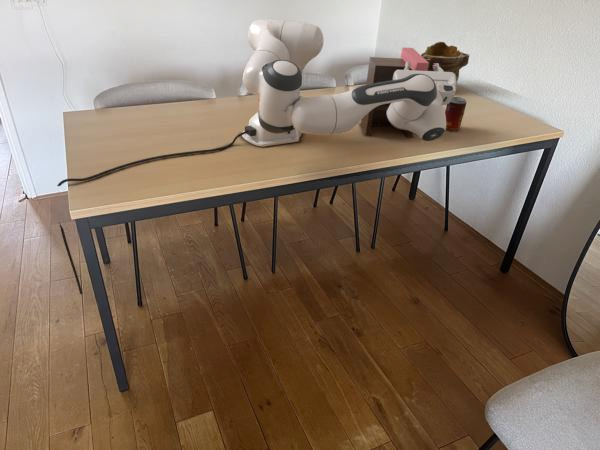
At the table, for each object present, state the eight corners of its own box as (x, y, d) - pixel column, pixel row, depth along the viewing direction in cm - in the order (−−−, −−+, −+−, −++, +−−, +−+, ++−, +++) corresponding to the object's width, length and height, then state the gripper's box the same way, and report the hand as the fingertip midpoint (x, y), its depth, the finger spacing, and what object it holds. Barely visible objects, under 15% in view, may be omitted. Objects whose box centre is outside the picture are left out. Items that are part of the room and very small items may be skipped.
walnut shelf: (412, 137, 171) (426, 67, 156) (365, 135, 170) (375, 65, 155) (404, 125, 181) (417, 59, 166) (360, 124, 180) (369, 57, 165)
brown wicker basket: (457, 84, 205) (437, 32, 203) (417, 105, 225) (398, 58, 223) (483, 76, 217) (464, 27, 216) (443, 96, 237) (425, 52, 236)
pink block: (426, 73, 150) (429, 63, 148) (415, 73, 149) (417, 62, 147) (411, 57, 168) (412, 47, 166) (400, 57, 168) (402, 47, 166)
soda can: (445, 124, 185) (452, 94, 178) (461, 128, 181) (470, 98, 174) (438, 128, 180) (445, 98, 173) (455, 133, 177) (463, 103, 170)
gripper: (392, 101, 145) (388, 69, 152) (453, 103, 147) (447, 72, 153) (397, 87, 140) (393, 55, 146) (461, 89, 141) (454, 57, 147)
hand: (421, 63), depth 149 cm, fingers open, 8 cm apart
